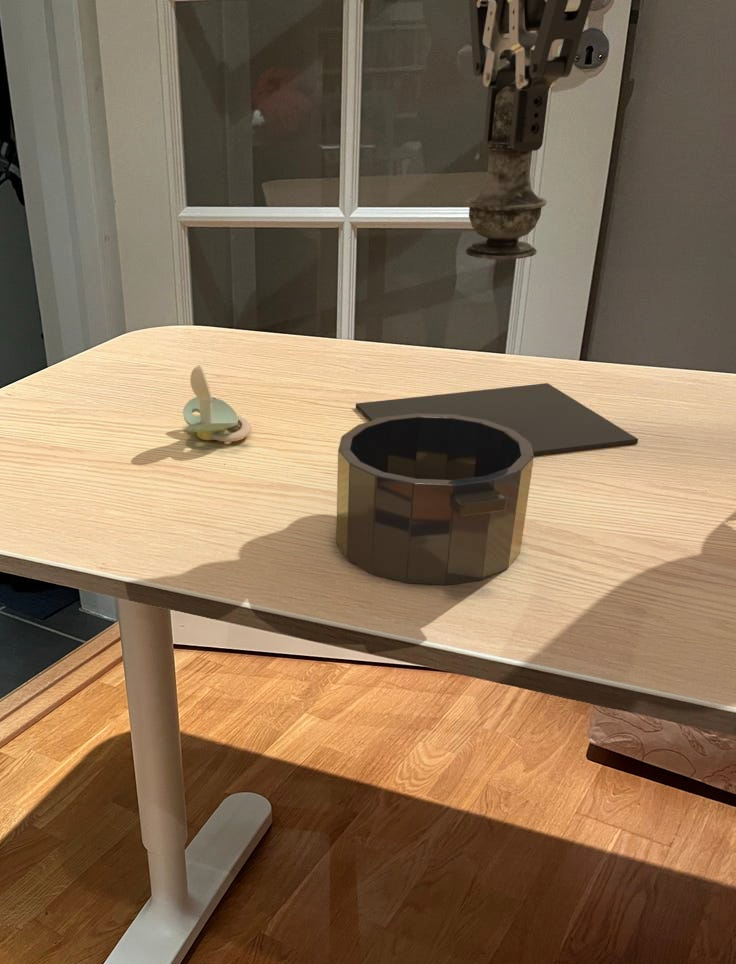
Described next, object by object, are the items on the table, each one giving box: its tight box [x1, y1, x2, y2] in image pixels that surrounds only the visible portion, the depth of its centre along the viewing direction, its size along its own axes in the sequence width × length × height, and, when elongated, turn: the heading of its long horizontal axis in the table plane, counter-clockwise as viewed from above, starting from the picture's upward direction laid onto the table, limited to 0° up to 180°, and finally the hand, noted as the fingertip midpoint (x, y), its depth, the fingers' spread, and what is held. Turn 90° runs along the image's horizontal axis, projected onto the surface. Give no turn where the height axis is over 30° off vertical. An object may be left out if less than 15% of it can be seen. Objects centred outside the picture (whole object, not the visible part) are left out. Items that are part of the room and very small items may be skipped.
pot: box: [335, 413, 535, 586], centre depth 64 cm, size 13×16×7 cm
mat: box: [355, 382, 639, 457], centre depth 85 cm, size 20×16×1 cm
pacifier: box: [182, 364, 252, 443], centre depth 83 cm, size 7×6×6 cm
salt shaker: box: [465, 74, 548, 260], centre depth 68 cm, size 6×6×12 cm
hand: (511, 146), depth 68 cm, fingers closed on salt shaker, 3 cm apart
